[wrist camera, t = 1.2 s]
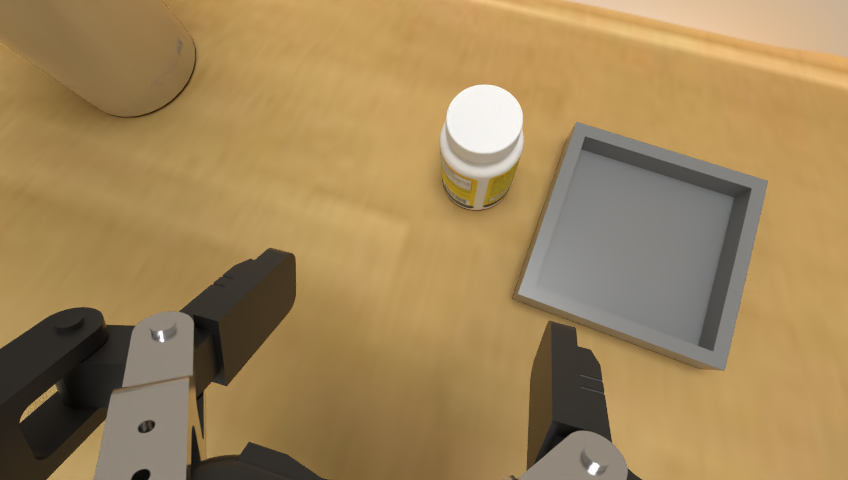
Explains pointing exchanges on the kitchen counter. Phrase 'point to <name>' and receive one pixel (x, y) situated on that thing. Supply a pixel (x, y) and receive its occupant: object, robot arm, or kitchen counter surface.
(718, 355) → the tray
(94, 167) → the kitchen counter surface
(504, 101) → the supplement bottle
